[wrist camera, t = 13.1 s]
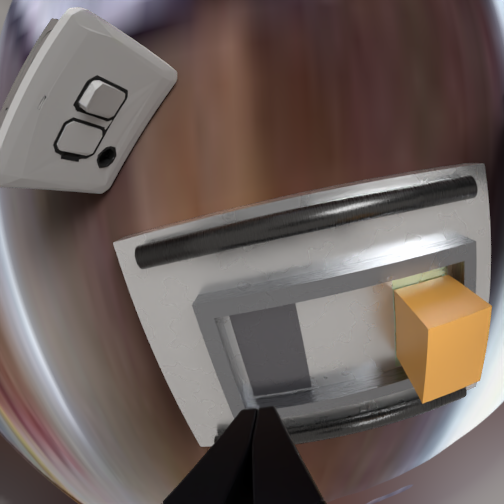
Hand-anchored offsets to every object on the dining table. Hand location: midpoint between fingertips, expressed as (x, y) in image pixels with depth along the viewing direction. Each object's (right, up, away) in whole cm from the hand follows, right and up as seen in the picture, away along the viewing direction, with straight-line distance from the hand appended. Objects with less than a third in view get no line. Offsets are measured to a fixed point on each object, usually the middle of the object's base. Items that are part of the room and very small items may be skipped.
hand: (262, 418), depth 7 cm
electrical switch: (-10, +13, +11) cm, 20 cm away
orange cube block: (+11, 0, +10) cm, 15 cm away
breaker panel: (+5, -1, +13) cm, 14 cm away
